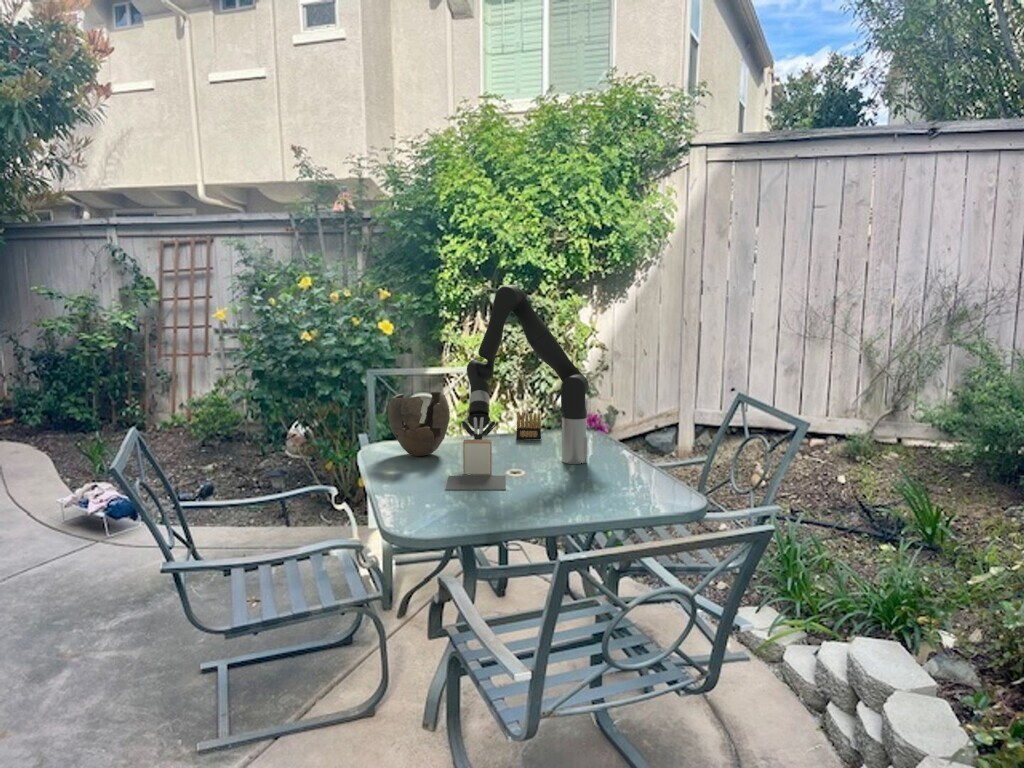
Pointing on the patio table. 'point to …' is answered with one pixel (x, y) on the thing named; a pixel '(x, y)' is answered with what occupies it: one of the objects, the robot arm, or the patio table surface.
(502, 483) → the charcoal mat
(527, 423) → the ammunition clip
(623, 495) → the patio table surface
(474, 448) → the peach block
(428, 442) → the clay pot
